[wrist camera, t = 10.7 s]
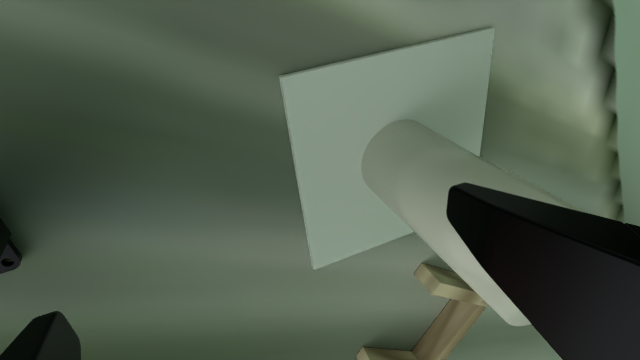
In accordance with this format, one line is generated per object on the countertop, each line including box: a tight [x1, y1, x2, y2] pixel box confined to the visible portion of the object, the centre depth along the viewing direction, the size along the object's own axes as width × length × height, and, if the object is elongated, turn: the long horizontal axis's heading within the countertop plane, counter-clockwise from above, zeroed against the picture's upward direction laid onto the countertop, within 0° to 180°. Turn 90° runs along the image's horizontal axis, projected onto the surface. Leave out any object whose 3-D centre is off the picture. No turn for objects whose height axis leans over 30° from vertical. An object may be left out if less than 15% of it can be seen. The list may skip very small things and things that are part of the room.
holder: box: [356, 263, 488, 360], centre depth 35 cm, size 8×11×2 cm
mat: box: [279, 27, 495, 270], centre depth 26 cm, size 14×14×1 cm
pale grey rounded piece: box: [361, 119, 583, 326], centre depth 21 cm, size 8×5×12 cm
